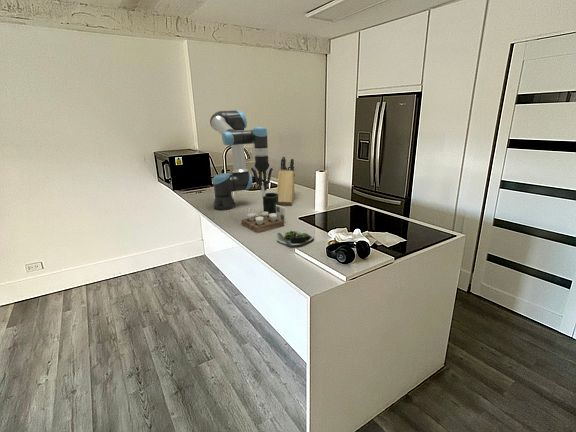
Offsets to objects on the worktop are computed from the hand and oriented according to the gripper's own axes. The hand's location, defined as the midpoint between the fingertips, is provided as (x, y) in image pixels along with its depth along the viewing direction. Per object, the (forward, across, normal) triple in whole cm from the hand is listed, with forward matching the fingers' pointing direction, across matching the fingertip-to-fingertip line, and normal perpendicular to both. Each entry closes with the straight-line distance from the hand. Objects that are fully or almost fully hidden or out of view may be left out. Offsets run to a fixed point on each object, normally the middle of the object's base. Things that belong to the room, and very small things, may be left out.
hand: (263, 195), depth 184 cm
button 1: (+14, -6, -6) cm, 17 cm away
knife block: (+17, +5, +51) cm, 53 cm away
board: (+16, 0, -6) cm, 17 cm away
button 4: (+14, +6, -6) cm, 17 cm away
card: (+16, +10, +4) cm, 19 cm away
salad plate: (+16, +22, -28) cm, 39 cm away
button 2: (+14, 0, -13) cm, 19 cm away
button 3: (+15, 0, 0) cm, 15 cm away
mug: (+16, -1, +20) cm, 26 cm away
